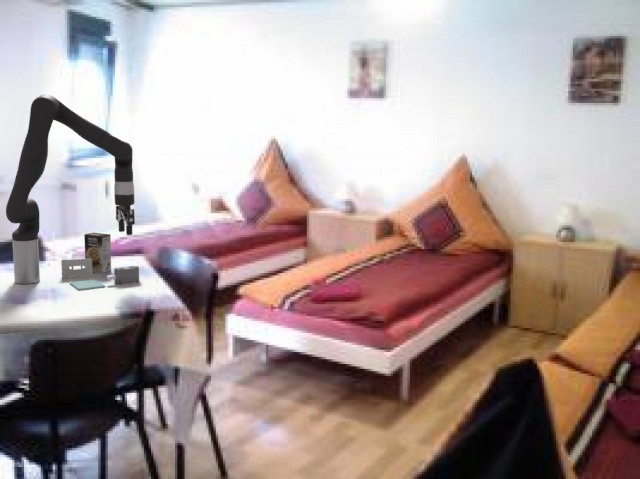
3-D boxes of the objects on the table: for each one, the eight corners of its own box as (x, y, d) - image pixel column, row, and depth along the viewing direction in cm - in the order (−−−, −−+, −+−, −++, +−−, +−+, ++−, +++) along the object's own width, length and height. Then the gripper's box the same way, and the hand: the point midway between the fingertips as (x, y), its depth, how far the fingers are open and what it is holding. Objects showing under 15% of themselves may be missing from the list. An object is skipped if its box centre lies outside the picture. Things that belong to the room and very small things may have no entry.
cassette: (61, 278, 269) (61, 260, 268) (62, 277, 271) (61, 259, 270) (92, 277, 273) (92, 259, 272) (92, 276, 275) (92, 258, 274)
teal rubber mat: (69, 283, 261) (69, 282, 261) (94, 280, 267) (94, 279, 266) (78, 290, 251) (78, 288, 251) (104, 287, 257) (104, 285, 257)
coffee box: (84, 271, 282) (83, 234, 280) (94, 268, 288) (93, 232, 286) (102, 273, 280) (101, 236, 277) (112, 270, 286) (110, 233, 283)
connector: (106, 283, 262) (105, 269, 261) (137, 279, 270) (136, 265, 269) (109, 285, 259) (109, 271, 258) (140, 281, 267) (140, 267, 266)
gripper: (108, 191, 262) (110, 231, 265) (121, 195, 251) (122, 236, 254) (127, 190, 267) (128, 230, 270) (140, 194, 255) (141, 235, 258)
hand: (125, 233), depth 262 cm, fingers open, 8 cm apart
